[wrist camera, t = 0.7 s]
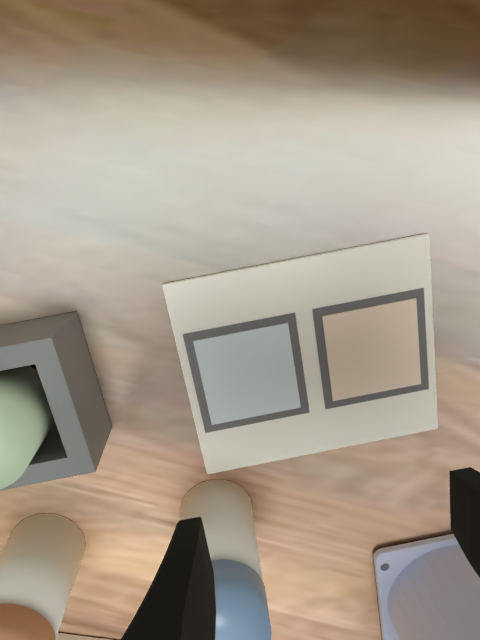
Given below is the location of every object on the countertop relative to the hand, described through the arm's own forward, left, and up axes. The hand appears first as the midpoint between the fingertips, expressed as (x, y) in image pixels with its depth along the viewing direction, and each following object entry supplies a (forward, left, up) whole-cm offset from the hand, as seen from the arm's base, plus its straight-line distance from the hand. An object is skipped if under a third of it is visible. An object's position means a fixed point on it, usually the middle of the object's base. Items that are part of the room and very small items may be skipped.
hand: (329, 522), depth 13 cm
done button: (+2, +11, -8) cm, 14 cm away
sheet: (+1, -2, -10) cm, 10 cm away
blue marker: (-7, +4, -10) cm, 13 cm away
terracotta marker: (-7, +13, -10) cm, 18 cm away
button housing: (+2, +11, -10) cm, 15 cm away
